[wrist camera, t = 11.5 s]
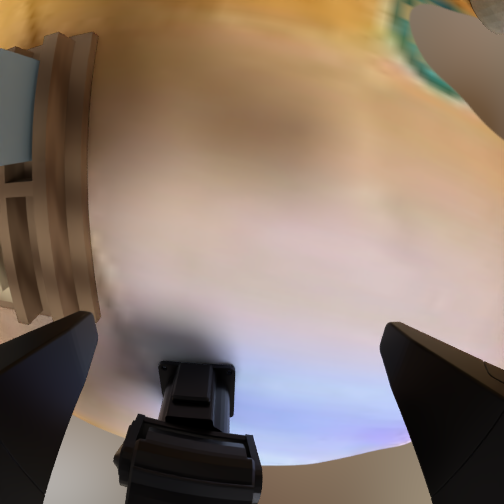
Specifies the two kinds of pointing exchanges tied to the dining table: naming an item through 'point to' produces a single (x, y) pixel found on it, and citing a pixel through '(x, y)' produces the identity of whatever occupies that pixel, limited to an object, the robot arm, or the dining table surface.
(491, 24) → the house plant
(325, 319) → the dining table surface
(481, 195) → the dining table surface
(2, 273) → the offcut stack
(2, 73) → the light blue block
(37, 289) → the rack
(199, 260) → the dining table surface
